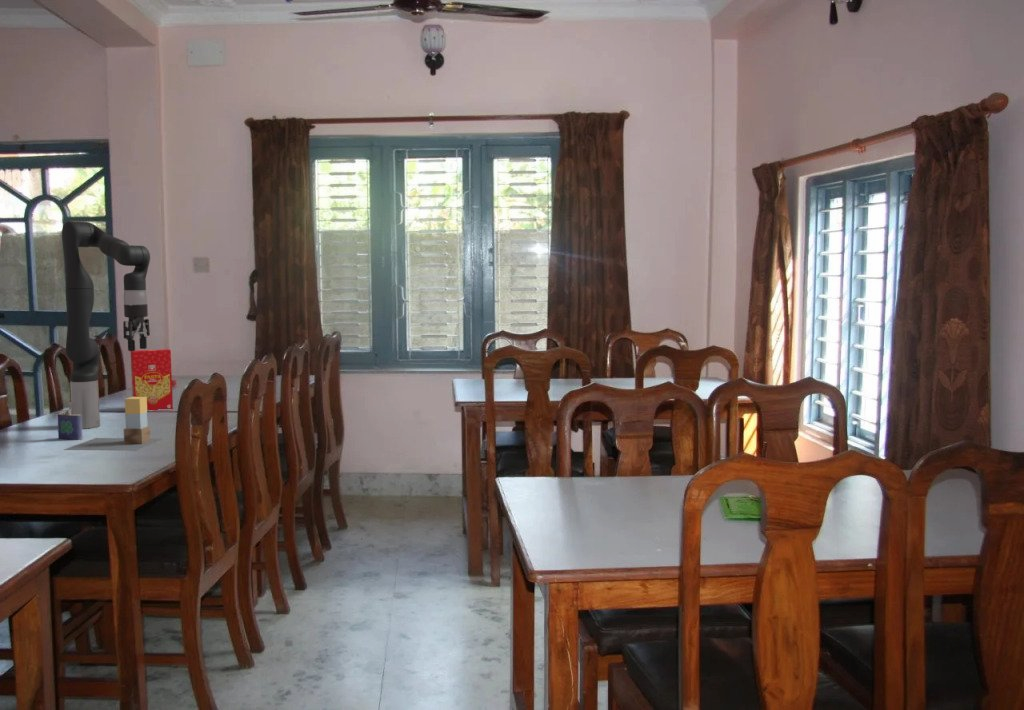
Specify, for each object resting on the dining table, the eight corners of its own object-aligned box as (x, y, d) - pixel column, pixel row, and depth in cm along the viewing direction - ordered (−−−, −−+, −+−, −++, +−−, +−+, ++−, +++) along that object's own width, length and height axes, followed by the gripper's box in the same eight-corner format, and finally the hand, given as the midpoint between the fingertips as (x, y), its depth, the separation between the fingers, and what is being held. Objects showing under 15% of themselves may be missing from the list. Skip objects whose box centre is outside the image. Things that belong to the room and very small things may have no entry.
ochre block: (125, 413, 289) (124, 398, 288) (132, 411, 294) (132, 396, 293) (140, 413, 288) (139, 399, 288) (147, 411, 293) (146, 396, 293)
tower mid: (125, 428, 289) (125, 413, 288) (133, 426, 294) (132, 411, 293) (140, 428, 289) (140, 414, 288) (147, 426, 294) (147, 411, 293)
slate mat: (63, 450, 280) (63, 449, 280) (96, 439, 300) (95, 437, 300) (136, 451, 279) (136, 450, 279) (164, 439, 298) (164, 438, 298)
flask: (84, 440, 298) (82, 409, 297) (77, 441, 295) (76, 410, 294) (62, 438, 301) (60, 408, 300) (55, 440, 298) (53, 409, 297)
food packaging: (134, 412, 356) (132, 351, 353) (133, 411, 360) (130, 350, 358) (173, 409, 363) (170, 350, 361) (170, 408, 368) (168, 349, 365)
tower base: (124, 444, 289) (123, 429, 288) (133, 440, 295) (132, 425, 294) (142, 444, 289) (141, 429, 288) (150, 440, 295) (149, 426, 294)
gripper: (134, 302, 310) (136, 348, 311) (114, 304, 296) (116, 351, 297) (155, 302, 310) (157, 348, 311) (136, 304, 295) (138, 351, 297)
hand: (137, 349), depth 304 cm, fingers open, 8 cm apart
